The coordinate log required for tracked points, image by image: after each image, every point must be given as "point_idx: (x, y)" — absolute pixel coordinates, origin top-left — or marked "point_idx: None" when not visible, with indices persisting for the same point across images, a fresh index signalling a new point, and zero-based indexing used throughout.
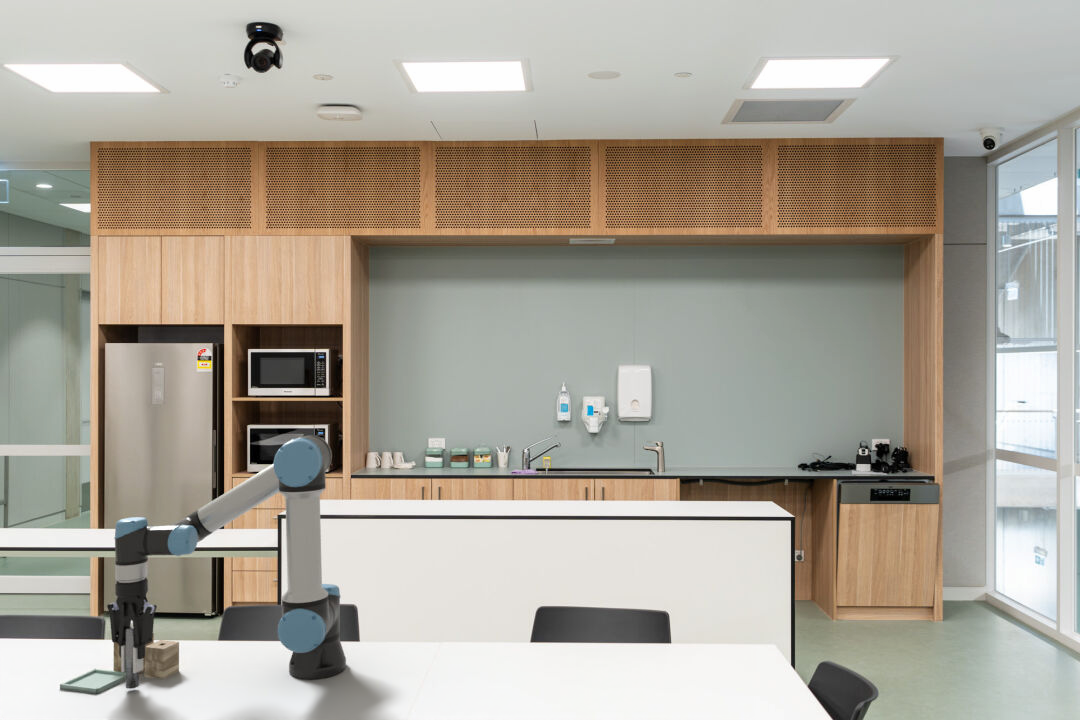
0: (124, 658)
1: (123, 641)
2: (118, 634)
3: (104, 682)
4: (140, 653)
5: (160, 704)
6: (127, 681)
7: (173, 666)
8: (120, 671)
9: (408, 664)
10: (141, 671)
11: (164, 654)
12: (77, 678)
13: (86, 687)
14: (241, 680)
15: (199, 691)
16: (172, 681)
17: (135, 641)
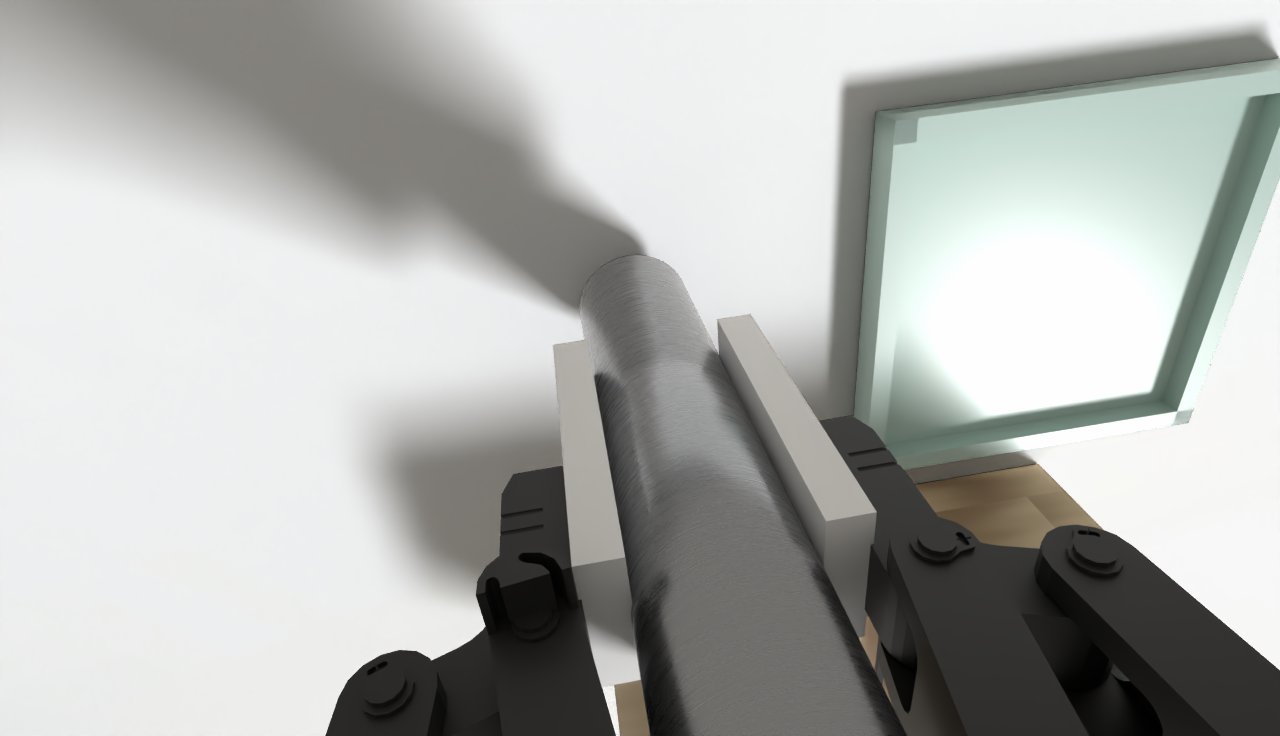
0: (762, 415)
1: (904, 605)
2: (1124, 702)
3: (963, 295)
4: (516, 531)
5: (64, 160)
6: (643, 280)
7: None
8: (985, 481)
9: None
10: None
11: (616, 694)
12: (1230, 245)
13: (1024, 109)
14: (56, 710)
15: (95, 491)
16: (493, 525)
17: (592, 665)
